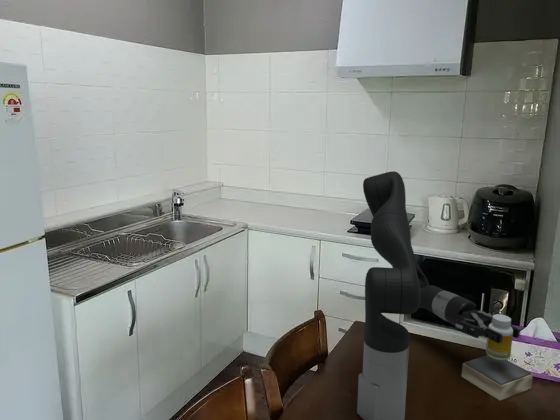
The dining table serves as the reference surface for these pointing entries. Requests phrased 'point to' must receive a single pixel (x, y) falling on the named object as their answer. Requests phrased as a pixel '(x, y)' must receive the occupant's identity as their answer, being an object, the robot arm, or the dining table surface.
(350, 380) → the dining table surface
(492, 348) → the supplement bottle
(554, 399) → the dining table surface
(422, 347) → the dining table surface
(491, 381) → the plinth
